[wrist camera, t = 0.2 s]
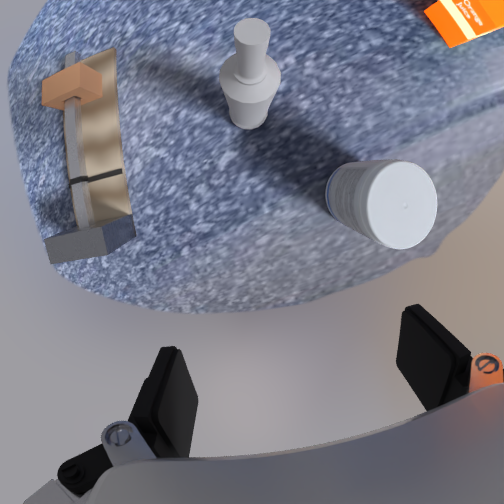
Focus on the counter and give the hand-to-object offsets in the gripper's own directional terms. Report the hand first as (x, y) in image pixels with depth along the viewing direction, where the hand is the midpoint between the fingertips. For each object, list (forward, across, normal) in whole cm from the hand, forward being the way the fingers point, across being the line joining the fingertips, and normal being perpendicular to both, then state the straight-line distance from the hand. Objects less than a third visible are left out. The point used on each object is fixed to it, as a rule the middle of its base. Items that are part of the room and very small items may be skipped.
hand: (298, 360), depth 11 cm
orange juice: (+31, -42, -35) cm, 63 cm away
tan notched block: (+29, +23, -25) cm, 45 cm away
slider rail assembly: (+31, +23, -16) cm, 42 cm away
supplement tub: (+31, -14, -2) cm, 34 cm away
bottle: (+31, -1, -16) cm, 35 cm away
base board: (+31, +23, -16) cm, 42 cm away
